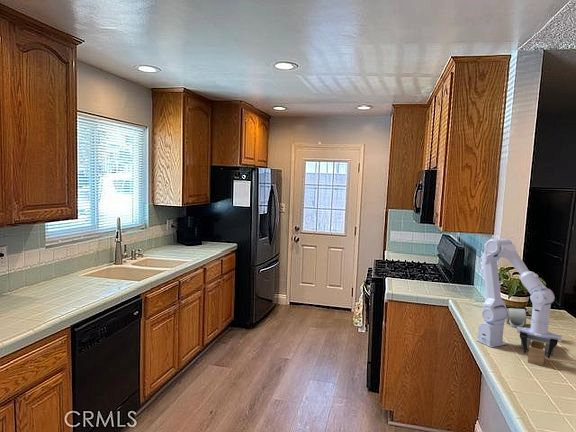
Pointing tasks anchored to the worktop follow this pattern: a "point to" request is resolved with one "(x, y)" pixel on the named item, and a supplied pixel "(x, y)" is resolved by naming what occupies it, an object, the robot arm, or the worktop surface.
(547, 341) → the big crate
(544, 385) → the worktop surface
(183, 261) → the worktop surface
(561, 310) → the worktop surface
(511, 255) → the robot arm
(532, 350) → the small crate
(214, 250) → the worktop surface
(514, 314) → the ceramic mug
